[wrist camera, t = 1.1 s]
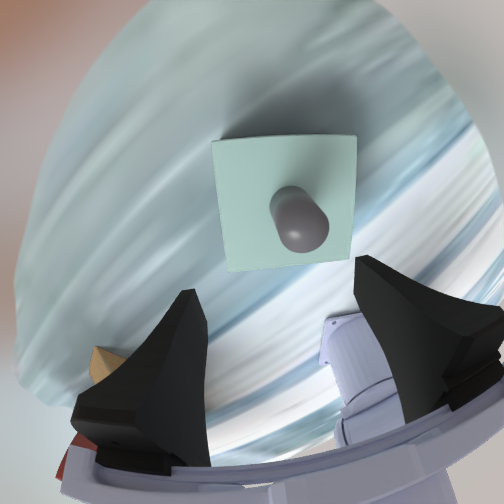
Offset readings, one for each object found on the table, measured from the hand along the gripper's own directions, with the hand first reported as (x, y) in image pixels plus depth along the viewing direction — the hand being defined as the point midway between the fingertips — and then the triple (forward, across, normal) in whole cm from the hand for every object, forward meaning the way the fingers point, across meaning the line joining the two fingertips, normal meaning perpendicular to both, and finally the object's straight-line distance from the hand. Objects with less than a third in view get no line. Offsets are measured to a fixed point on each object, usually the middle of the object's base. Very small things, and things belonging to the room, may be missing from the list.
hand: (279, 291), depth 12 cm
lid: (+7, -2, -1) cm, 7 cm away
